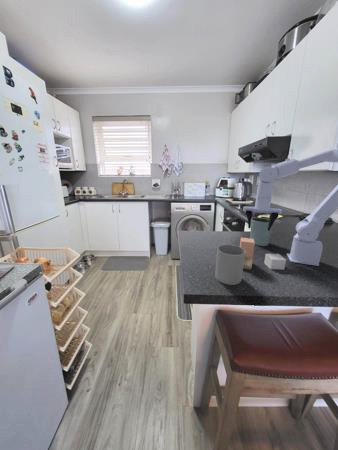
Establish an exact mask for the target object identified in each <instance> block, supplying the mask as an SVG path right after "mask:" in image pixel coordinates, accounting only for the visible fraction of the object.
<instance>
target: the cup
mask: <svg viewBox="0 0 338 450" xmlns="http://www.w3.org/2000/svg"><path fill="white" fill-rule="evenodd" d="M216 252H217V253H216V260H215V261H216V263H215V273H214V278H215V279H216V280H217V281H218V282H220V283H221V284H225V285H228V286H232V285H233V286H234V285H236V286H237V285H239V284H240V283H241V282H242V278H243V273H244V272H243V271H244V268H243V266H244V259H245V250H244V249H242V248H241V247H240V246H239V245H232V244H222V245H221V244H220V245H219V246H217V251H216Z"/></svg>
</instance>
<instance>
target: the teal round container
mask: <svg viewBox="0 0 338 450" xmlns="http://www.w3.org/2000/svg"><path fill="white" fill-rule="evenodd" d="M268 223H269V218H265V217H252V218H251V227H250V232H249V233H250V235H249V238H250V239H254V242H255V246H257V247H268V246H269V243H270V240H271V239H270V238H271V235H272V231H273V226H274V224H273V225H272V227H271V229H270V231H268V230H267V228H268Z"/></svg>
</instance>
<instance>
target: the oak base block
mask: <svg viewBox="0 0 338 450" xmlns="http://www.w3.org/2000/svg"><path fill="white" fill-rule="evenodd" d="M253 260H254V257H253V258H246V257H245V259H244V266H243V269H246V270H252V268H253V267H252V266H253V262H254V261H253Z"/></svg>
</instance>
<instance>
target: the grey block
mask: <svg viewBox="0 0 338 450" xmlns="http://www.w3.org/2000/svg"><path fill="white" fill-rule="evenodd" d="M263 263H264V264H265V265H266V266H267V268H268V269H270V270H282V271H283V270H285V267H286V263H287V259H286V258H284V256H282V255H281V254H280V253H265V255H264V261H263Z"/></svg>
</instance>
